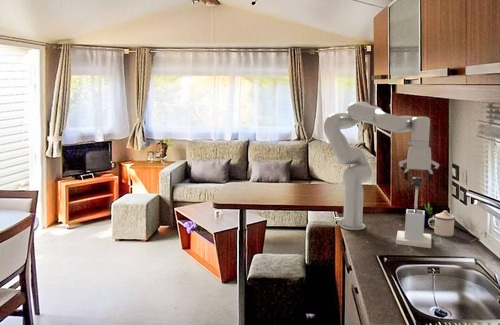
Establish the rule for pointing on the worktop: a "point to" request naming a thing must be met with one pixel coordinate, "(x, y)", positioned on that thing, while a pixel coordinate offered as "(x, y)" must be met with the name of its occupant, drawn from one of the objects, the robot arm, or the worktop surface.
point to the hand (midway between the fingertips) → (417, 181)
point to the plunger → (416, 191)
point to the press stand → (414, 231)
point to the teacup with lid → (443, 224)
